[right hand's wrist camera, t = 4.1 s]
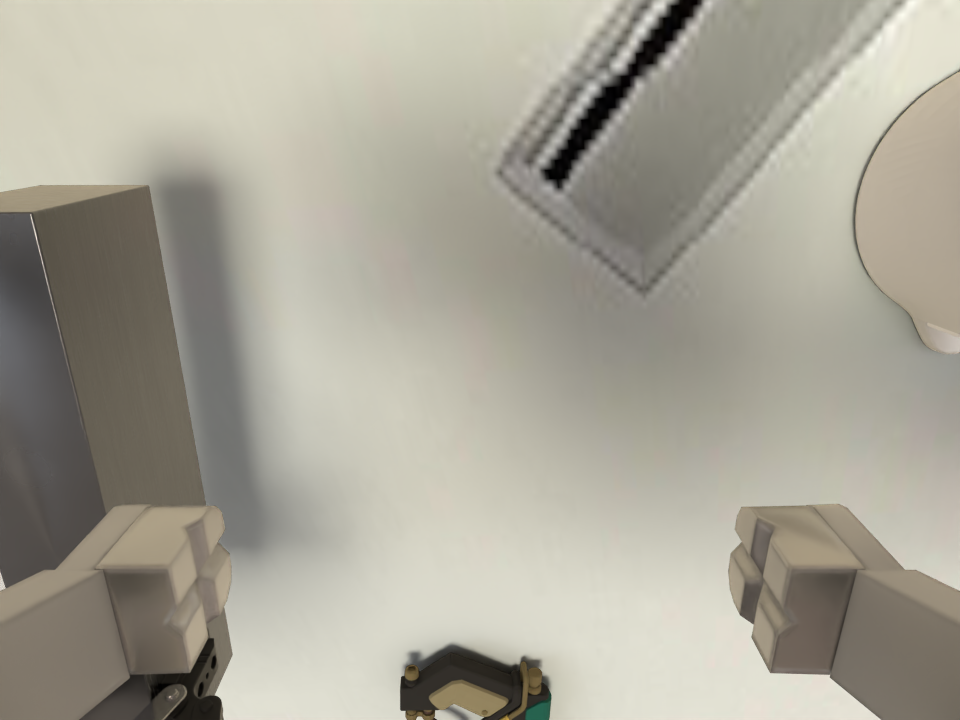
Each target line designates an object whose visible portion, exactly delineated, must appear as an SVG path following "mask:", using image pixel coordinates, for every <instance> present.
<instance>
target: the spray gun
mask: <svg viewBox="0 0 960 720" xmlns="http://www.w3.org/2000/svg"><path fill="white" fill-rule="evenodd" d="M541 681H542V671H541V670H540V669H538V668H536V667H533V668H530V669H529V670H528V671H527V665H526V662H521V665H520V673H519V671H517V670H514V671H512V672H511V675H510V674H507V673H505V672H502V671H500V670H497V669H495V668H492V667H489V666H487V665H484V664H482V663H479V662H476V661H473V660H471V659H468V658H465V657H462V656H460V655H457V654H454V653H449V654H447V655H446V656H444V657H442V658H441V659H439V660H438V661H436V662H435V663H433V664H431V665H430V666H428V667H427V668H425V669H423V670H422V671H420V672H419V669H418V667H417V666H416V665H409V666H407V667H406V669H405V676H402V677H401V687H400V710H401V711H406V718H407V720H416V718H417V716H421V717H423V719H424V720H437V719H435V718H434V717H435V710H445V709H446V708H448V707H449V706H450V705H452V704H456V705H458V706H460V707H462V708H465V709H467V710H469V711H471V712H473V713H475V714H478V715H480V716H483V717H484V718H483V719H482V720H549V717H550V706H551V693H550V691H549V688H548V687H547V686H546V685H545V684H544V683H541Z"/></svg>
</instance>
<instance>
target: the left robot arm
mask: <svg viewBox="0 0 960 720" xmlns="http://www.w3.org/2000/svg"><path fill="white" fill-rule="evenodd" d="M207 632H208V639H207V641H206V643H205V645H204V647H203V649H202V651H201V653H200V655H199V656H198V658H197V660H196V662H195V664H194V666H193V668H192V670H191V672H190V673H170V674H166V676H165V678H164V680H163V682H162V683H161V684H162V688H163V690H162V691H161V692H160V693H159V694H158V695H157V696H156V697H155V698H154V699H153V700H152V701H151V702H150V703H149V704H148V705H147V706H146V707H145V708H144V710H143V711H142V712H141V713H140V714H139V715H138V716H137V717H136V718H135V719H134V720H224V719H223V707H222V702H221V699H220V698H219V697H217V696H214V695H210V696H206V697H205V695H206V693H207V691H208V689H209V687H210V684H211V683H212V680H213V678H214V676H215V674H216V672H217V670H218V657H217V651H216V646H215V641H214V638H210V634H209V629H208V628H207Z"/></svg>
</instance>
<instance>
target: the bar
mask: <svg viewBox="0 0 960 720" xmlns="http://www.w3.org/2000/svg"><path fill="white" fill-rule="evenodd" d="M135 504H150V505H196V506H206V503H205V497H204V491H203V486H202V480H201V475H200V469H199V463H198V458H197V452H196V447H195V441H194V435H193V430H192V424H191V418H190V413H189V407H188V402H187V396H186V390H185V385H184V379H183V374H182V368H181V362H180V357H179V351H178V346H177V340H176V334H175V329H174V323H173V318H172V312H171V306H170V301H169V295H168V289H167V284H166V278H165V273H164V267H163V261H162V256H161V250H160V245H159V239H158V233H157V228H156V222H155V217H154V211H153V205H152V200H151V194H150V189H149V186H148V185H40V186H34V187H28V188H23V189H17V190H11V191H5V192H0V572H1V575H2V578H3V581H4V584H5V587H6V588H8V587H10V586H12V585H14V584H16V583H18V582H20V581H22V580H24V579H26V578H29V577H31V576H33V575H35V574H37V573H39V572H41V571H43V570H55V569H56V568H57V567H58V566H59V565H60V564H61V563H62V562H63V561H64V560H65V559H66V558H67V557H68V555H69V554H70V553H71V552H72V551H73V550H74V549H75V548H76V547H77V546H78V545H79V544H80V543H81V542H82V540H83V539H84V538H85V537H86V536H87V535H88V534H89V533H90V532H91V531H92V530H93V529H94V528H95V527H96V525H97V524H98V523H99V522H100V521H101V520H102V519H103V518H104V517H105V516H106V515H107V514H108V513H109V512H110V510H111V509H112V508H113V507H116V506H119V505H135ZM206 627H207V628H208V629H209V634H210V638H214V641H215V646H216V651H217V657H218V670H217V672H216V674H215V676H214V678H213V680H212V683H211V684H210V687H209V689H208V691H207V693H206V695H205V697H206V696H210V695H215V693H216V691H217V688H218V686H219V684H220V682H221V680H222V677H223V675H224V673H225V671H226V668H227V666H228V664H229V662H230V659H231V657H232V655H233V654H232V648H231V643H230V637H229V632H228V626H227V620H226V615H225V609H224V608H223V610H222V612H221V614H220V615H219V616H218V617H216V618H215V619H214V620H212V621H211V622H209V623H208V624H206ZM165 676H166V674H135V675H130V678H129V679H128V680H127V681H125V682H124V683H123V684H122V685H121V686H119V687H118V688H117V689H116V690H114V691H113V692H112V693H111V694H110V695H108V696H107V697H106V698H105V699H104V700H102V701H101V702H100V703H99V704H97V705H96V706H95V707H94V708H93V709H91V710H90V711H89V712H88V713H86V714H85V715H84V716H83V717H82V718H80V719H79V720H134V719H135V718H136V717H137V716H138V715H139V714H140V713H141V712H142V711H143V710H144V708H145V707H146V706H147V705H148V704H149V703H150V702H151V701H152V700H153V699H154V698H155V697H156V696H157V695H158V694H159V693H160V692H161V691H162V690H163V688H162V684H161V683H162V682H163V680H164V678H165Z"/></svg>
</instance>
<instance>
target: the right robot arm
mask: <svg viewBox="0 0 960 720" xmlns="http://www.w3.org/2000/svg"><path fill="white" fill-rule="evenodd" d="M855 229H856V239H857V245H858V250H859V253H860V256H861V259H862V262H863V264H864V266H865V268H866V270H867V272H868V274H869V275H870V277H871V279H872V280H873V281H874V283H875V284H876V285H877V286H878V287H879V289H880V290H881V291H882V292H883V293H885V294H886V295H887V296H888V297H889V298H891V299H892V300H893V301H895V302H896V303H897V304H899V305H900V306H901V307H903V308H904V309H905V310H906V311H907V312H908V313H909V314H910V315H911V317H912V319H913V322H914V324H915V327H916V329H917V331H918V334H919V335H920V337H921V339H922V341H923V342H924V344H925V345H926V346H927V347H928V348H930V349H932V350H935V351H937V352H940V353H943V354H955V353H960V71H959V72H957V73H956V74H954V75H952V76H951V77H949V78H947V79H946V80H944V81H943V82H941V83H939V84H938V85H936V86H935V87H933V88H932V89H931V90H929V91H928V92H926V93H925V94H924V95H923V96H921V97H920V98H919V99H918V100H917V101H916V102H914V103H913V104H912V105H911V106H910V107H909V108H908V109H907V110H906V111H905V112H904V113H903V114H902V115H901V116H900V117H899V118H898V120H897V121H896V122H895V123H894V124H893V125H892V127H891V128H890V129H889V131H888V132H887V133H886V135H885V136H884V138H883V139H882V141H881V142H880V144H879V145H878V147H877V149H876V151H875V152H874V154H873V156H872V158H871V160H870V162H869V165H868V167H867V169H866V172H865V174H864V177H863V180H862V183H861V186H860V190H859V194H858V199H857V205H856V215H855ZM224 531H225V525H224V521H223V516H222V511H221V510H220V509H218V508H217V507H216V506H196V505H150V504H135V505H119V506H116V507H113V508H112V509H111V510H110V512H109V513H108V514H107V515H106V516H105V517H104V518H103V519H102V520H101V521H100V522H99V523H98V524H97V525H96V527H95V528H94V529H93V530H92V531H91V532H90V533H89V534H88V535H87V536H86V537H85V538H84V539H83V540H82V542H81V543H80V544H79V545H78V546H77V547H76V548H75V549H74V550H73V551H72V552H71V553H70V554H69V555H68V557H67V558H66V559H65V560H64V561H63V562H62V563H61V564H60V565H59V566H58V567H57V568H56V569H55V570H43V571H41V572H39V573H37V574H35V575H33V576H31V577H29V578H26V579H24V580H22V581H20V582H18V583H16V584H14V585H12V586H10V587H8V588H6V589H4V590H2V591H0V720H79V719H80V718H82V717H83V716H84V715H85V714H86V713H88V712H89V711H90V710H91V709H93V708H94V707H95V706H96V705H97V704H99V703H100V702H101V701H102V700H104V699H105V698H106V697H107V696H108V695H110V694H111V693H112V692H113V691H114V690H116V689H117V688H118V687H119V686H121V685H122V684H123V683H124V682H125V681H127V680H128V679H129V678H130V675H135V674H170V673H190V672H191V670H192V668H193V666H194V664H195V662H196V660H197V658H198V656H199V655H200V653H201V651H202V649H203V647H204V645H205V643H206V641H207V639H208V632H207V627H206V624H208V623H209V622H211V621H212V620H214V619H215V618H216V617H218V616H219V615H220V614H221V612H222V610H223V608H224V606H225V604H226V602H227V598H228V594H229V589H230V585H231V561H230V554H229V553H228V552H227V551H226V549H225V548H224V547H223V546H222V545H221V544H220V543H219V542H218V541H219V539H220V538H221V536H222V534H223V533H224ZM735 531H736V533H737V534H738V536H739V538H740V539H741V541H742V542H741V543H740V544H739V545H738V546H737V547H736V548H735V549H734V551H733V552H732V553H731V555H730V562H729V570H728V573H729V584H730V591H731V595H732V598H733V601H734V604H735V606H736V608H737V610H738V612H739V614H740V615H741V616H742V617H744V618H745V619H746V620H748V621H749V622H751V623H752V624H754V627H753V632H752V639H753V641H754V643H755V645H756V647H757V649H758V651H759V653H760V654H761V656H762V658H763V660H764V662H765V664H766V666H767V668H768V670H769V672H770V673H788V674H824V675H830V678H831V679H832V680H834V681H835V682H836V683H837V684H839V685H840V686H841V687H842V688H843V689H845V690H846V691H847V692H848V693H849V694H851V695H852V696H853V697H854V698H856V699H857V700H858V701H859V702H860V703H862V704H863V705H864V706H865V707H866V708H868V709H869V710H870V711H871V712H873V713H874V714H875V715H876V716H877V717H879V718H880V719H881V720H960V591H958V590H956V589H954V588H952V587H950V586H948V585H946V584H944V583H942V582H940V581H938V580H936V579H933V578H931V577H929V576H927V575H925V574H923V573H921V572H919V571H917V570H905V569H904V568H903V567H902V566H901V565H900V564H899V563H898V562H897V561H896V560H895V559H894V558H893V556H892V555H891V554H890V553H889V552H888V551H887V550H886V549H885V548H884V547H883V546H882V545H881V544H880V543H879V541H878V540H877V539H876V538H875V537H874V536H873V535H872V534H871V533H870V532H869V531H868V530H867V529H866V528H865V526H864V525H863V524H862V523H861V522H860V521H859V520H858V519H857V518H856V517H855V516H854V515H853V514H852V513H851V511H850V510H849V509H848V508H846V507H844V506H842V505H840V504H825V505H806V506H762V507H741V509H740V511H739V513H738V515H737V519H736V525H735Z"/></svg>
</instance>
